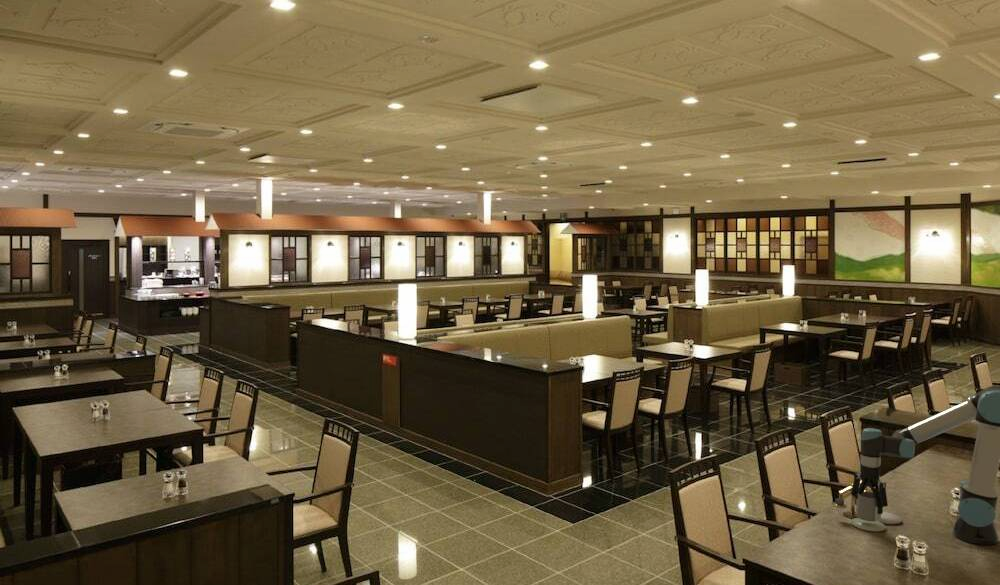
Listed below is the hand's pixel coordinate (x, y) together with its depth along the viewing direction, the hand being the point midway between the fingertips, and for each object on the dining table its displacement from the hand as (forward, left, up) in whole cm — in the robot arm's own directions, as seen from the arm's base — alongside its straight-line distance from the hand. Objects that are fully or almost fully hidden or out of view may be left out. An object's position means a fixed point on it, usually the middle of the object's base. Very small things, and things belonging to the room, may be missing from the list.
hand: (868, 517), depth 291 cm
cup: (0, 0, -1) cm, 1 cm away
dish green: (0, 0, -4) cm, 4 cm away
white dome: (+3, -14, -4) cm, 15 cm away
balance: (+11, -4, -4) cm, 12 cm away
